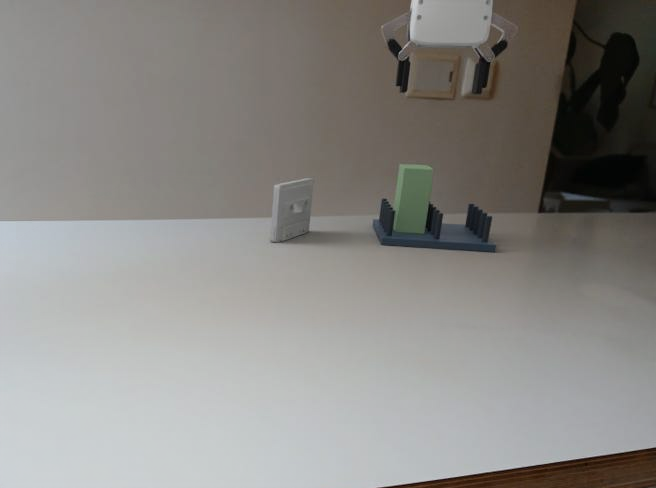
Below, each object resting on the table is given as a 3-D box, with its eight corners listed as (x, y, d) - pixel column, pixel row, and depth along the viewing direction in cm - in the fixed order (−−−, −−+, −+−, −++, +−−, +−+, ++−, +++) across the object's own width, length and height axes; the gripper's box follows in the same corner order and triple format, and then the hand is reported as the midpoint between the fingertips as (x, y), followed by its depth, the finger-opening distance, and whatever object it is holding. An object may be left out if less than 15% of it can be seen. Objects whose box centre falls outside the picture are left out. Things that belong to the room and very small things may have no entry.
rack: (471, 231, 115) (476, 202, 113) (495, 252, 100) (501, 218, 98) (372, 225, 117) (376, 196, 115) (381, 244, 102) (385, 212, 100)
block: (418, 227, 111) (427, 165, 108) (424, 234, 105) (434, 169, 102) (391, 225, 111) (399, 163, 108) (395, 232, 106) (404, 167, 103)
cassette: (278, 243, 100) (283, 185, 98) (266, 241, 101) (270, 184, 99) (312, 231, 110) (317, 178, 107) (300, 229, 111) (305, 177, 108)
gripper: (521, -44, 97) (499, 94, 103) (386, -43, 100) (372, 92, 106) (537, -55, 90) (513, 94, 96) (392, -53, 93) (376, 91, 99)
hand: (439, 93), depth 101 cm, fingers open, 9 cm apart
